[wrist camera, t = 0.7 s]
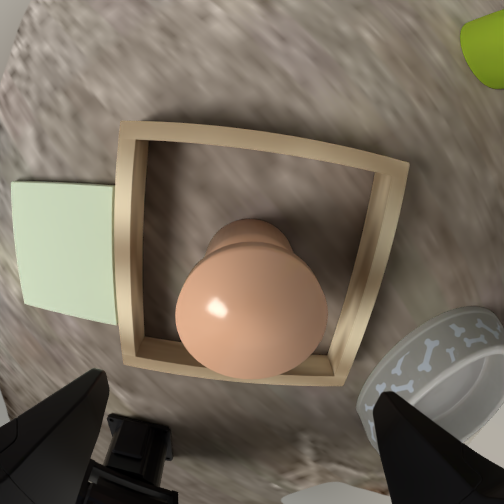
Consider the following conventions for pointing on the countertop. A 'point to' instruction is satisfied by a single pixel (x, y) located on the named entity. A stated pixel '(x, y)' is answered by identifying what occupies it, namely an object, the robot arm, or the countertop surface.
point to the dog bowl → (444, 372)
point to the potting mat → (66, 247)
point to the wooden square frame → (140, 132)
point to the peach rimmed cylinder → (251, 304)
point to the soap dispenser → (485, 48)
